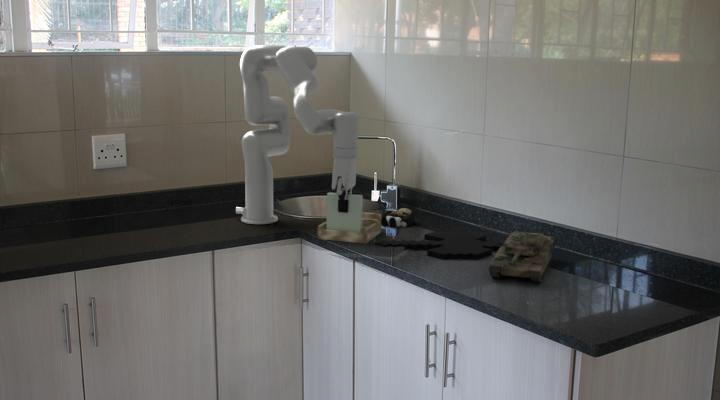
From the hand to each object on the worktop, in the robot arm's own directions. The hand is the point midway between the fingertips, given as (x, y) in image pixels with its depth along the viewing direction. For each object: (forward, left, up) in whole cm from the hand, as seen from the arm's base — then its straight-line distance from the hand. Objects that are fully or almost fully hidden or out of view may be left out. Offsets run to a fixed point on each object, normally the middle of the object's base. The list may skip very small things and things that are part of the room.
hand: (344, 210), depth 253 cm
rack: (0, +5, -10) cm, 11 cm away
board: (0, 0, -9) cm, 9 cm away
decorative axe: (+31, +5, -11) cm, 33 cm away
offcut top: (+1, +5, -6) cm, 8 cm away
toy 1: (+10, +28, -10) cm, 32 cm away
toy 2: (+57, -14, -10) cm, 59 cm away
